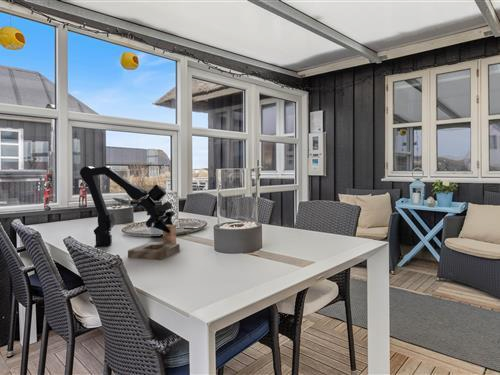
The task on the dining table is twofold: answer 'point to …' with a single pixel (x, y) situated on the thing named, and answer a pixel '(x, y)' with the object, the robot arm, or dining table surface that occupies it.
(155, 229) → the syrup box
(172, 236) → the terracotta peg
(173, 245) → the walnut hole board
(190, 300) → the dining table surface
